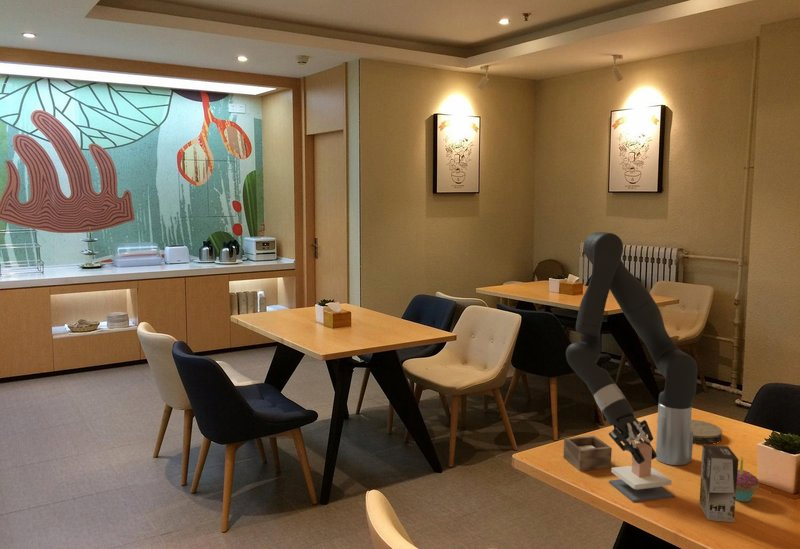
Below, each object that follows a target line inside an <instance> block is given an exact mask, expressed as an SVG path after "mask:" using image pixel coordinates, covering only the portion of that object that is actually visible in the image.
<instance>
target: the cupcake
mask: <svg viewBox="0 0 800 549" xmlns="http://www.w3.org/2000/svg"><path fill="white" fill-rule="evenodd" d="M739 461H740V462H739V464H740V465H739V469H738V473H737V486H736V500H735V501H737V502H750V501H751V499H752V497H753V495H754V494H755V493H756V491H757V490H759V488H760V481H759V478H757V476H756V475H754V474H753V473H751V472H749V471H746V470H745V469H744V458H740V459H739Z"/></svg>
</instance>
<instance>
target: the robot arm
mask: <svg viewBox="0 0 800 549" xmlns="http://www.w3.org/2000/svg"><path fill="white" fill-rule="evenodd" d="M583 251H584V254H585V257H586V258H587V260H588V261H589V262H590V264H591V265H592V272H591V276H590V280H589V283H588V285H587V288H586V290H585V292H584V294H583V297H582V299H581V302H580V305H579V308H578V313H577V317H576V323H575V330H576V331H575V332H577V333H578V334H580V336H579V337H580V338H579V340H580V341H579V342H573V343H571V344H569V345H568V346H567V347H566V350H565V357H566V361H567V363H568V365H569V366H570V368H571V369H572V370H573V372H574V373H576V375H577V376H578V377H579V378H580V379H581V380H582V381H583V382H584V383H585V384H586V386H587V388H588V390H589V391H590V393H591V395H592V396H593V397H594V401H595V402H596V405H597V406H598V408H599V410H600V411H601V413H602V415H603V416H604V418H605V419H606V422H608V424H609V425H610V426H613V429H612V430H611V431H610V432H609V433H608V435H609V437H610V439H612V440H613V442H614V443H615V444H616V445H617V446H618V447H619V448H620V449H621V451H623V452H625V451H627V452H629V453H630V455H631V456H633V457H634V459H635V461H636V462H637V463H638V464H641V463H642V462H644V461H645V459H644V457H643V456H642V454H641V452H640V451H639V449H638V448H636V442H637V443H646V444H647V445H649V446H651V447H652V460H654V459H656V460H657V461H659V462H661V463H663V464H666V465H671V466H684V465H687V464H689V463H692V462H693V461H692V460H693V445H694V443H693V431H692V430H691V420H692V410H693V407H692V406H693V401H694V399H695V397H696V393H697V383H698V374H699V373H698V371H699V370H698V365H697V364H698V363H697V361H696V360H695V358H694V357H692V355H689V354H687V353H686V352H684V351H682V350H681V349H680V348H679V347H678V346H677V345H676V343H675V342H674V340H673V339H672V338H671V337H670V335H669V333H668V332H667V330H666V327H665V324H664V319H663V314H662V312H661V310H660V308H659V306H658V304H657V303H656V301H655V300H654V298H653V297H652V295H651V294H650V292H649V290H648V289H647V288H646V286H644V284H642V283H641V281H640V280H638V278H636V277H635V275H634V274H633V273H632V272H630V271H629V269H628V268H627V267H626V266H625V264H624V263H623V261H622V259H621V258H622V257H623V253H624V243H623V241H622V239H621V237H619V236H618V235H617V234H616V233H612V232H603V231H596V232H593V233H590V234H589V235H588V236H586V238H585V240H584V243H583ZM609 293H611V295H613V296H612V297H613V298H614V299H615V301H616V302H617V304H618V306H619V308H620V310H621V311H622V313H623V315H624V316H625V317H626V320H627V321H628V323H629V324H630V325H631V327H632V328H633V329H634V331H635V332H636V334H637V335H638V337H639V338H640V339H641V341H642V342H643V343H644V345H645V346H646V348H647V350H648V353H649V354H650V356H651V358H652V361H653V362H654V364H655V367H656V370H658V372H659V373H660V375H662V376H663V377H664V378H665V383H664V389H663V391H661V392H659V394H658V405H657V406H658V408H657V427H656V428H657V429H656V442H655V445H656V446H655V449H654V448H653V446H652V444H651V442H652V441H653V440H654V437H653V434H652V431H651V429H650V427H649V423H648V422H647V420H645V419H643V420H642V421H639V420H638V419H637V418H635V416H634V413H635V411H634V409H633V408H632V406H631V404H630V403H629V401H628V399H627V398H626V397H625V394H623V392H622V391H621V389H620V388H619V387H618V385H617V384H616V382H615V381H614V379H613V378H612V376H611V374H610V373H609V371H607V369H605V368H602V367H600V366H599V365H598V364H597V363H598V361H599V359H600V357H601V350H602V349H601V345H602V343H601V342H602V340H601V339H602V338H601V328H602V325H603V319H604V315H605V309H606V305H607V299H608V297H609Z"/></svg>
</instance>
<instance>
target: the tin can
mask: <svg viewBox="0 0 800 549" xmlns="http://www.w3.org/2000/svg"><path fill="white" fill-rule="evenodd" d="M691 430H692V431H693V444H694V443H696V444H695V445H704V444H706V445H714V444H713V443H715V444H718V443H717V442H719V441H720V442H722V439H723V438H722V437H723V430H722V428H721V427H719V426H718V425H716V424H715V423H714V424H713V423H710V422H707V421H704V420H697V419H691ZM720 442H719V443H720Z"/></svg>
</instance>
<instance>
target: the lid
mask: <svg viewBox="0 0 800 549" xmlns="http://www.w3.org/2000/svg"><path fill="white" fill-rule="evenodd" d="M635 444H636V448H638V449H639V451H640V452H641V454H642V456H643V457H644V459H645V461H644V462H642V463H641V464H638V463H637V462H636V461H635V459H634V457H633V456H632V455H631V456H632V458H631V465H626V466H616V467H611V470H610V472H611V473H612V474H613V475H615V477H617V478H619V479H621V480H623V481H624V482H625V483H627V484H628V485H629V486H631V487H632V488H633V489H636V490H638V489H647V488H655V487H660V486H662V487H665V486H667V487H668V486H672V479H670V478H668V477H667V476H666V475H664V474H663V473H661V472H660V471H658V470H657V469H656V468H653V467H652V460H653V459H652V447H653V446H652V445H651V446H652V447H651V446H649V445H647V444H646V443H639V442H637V443H636V442H635Z"/></svg>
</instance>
